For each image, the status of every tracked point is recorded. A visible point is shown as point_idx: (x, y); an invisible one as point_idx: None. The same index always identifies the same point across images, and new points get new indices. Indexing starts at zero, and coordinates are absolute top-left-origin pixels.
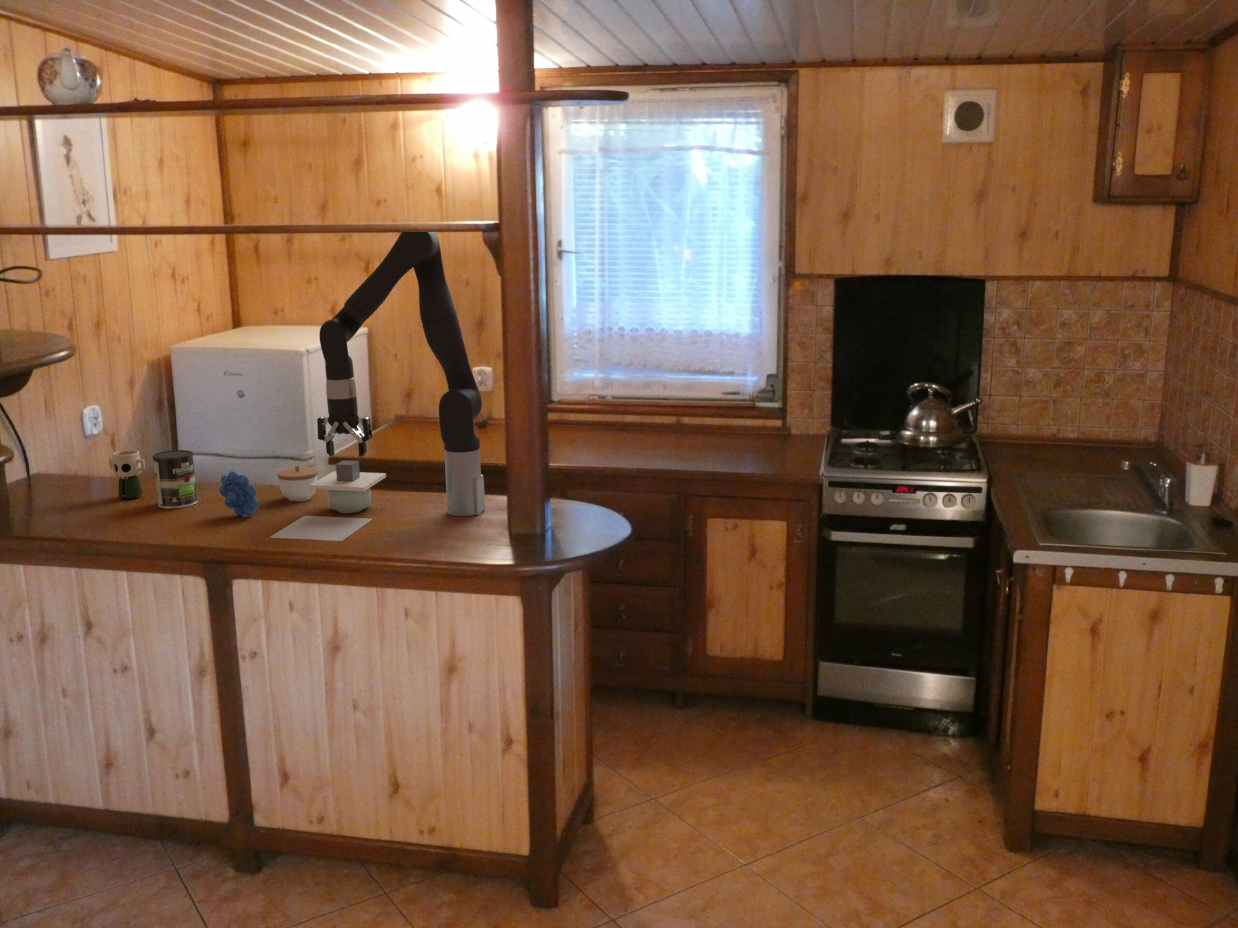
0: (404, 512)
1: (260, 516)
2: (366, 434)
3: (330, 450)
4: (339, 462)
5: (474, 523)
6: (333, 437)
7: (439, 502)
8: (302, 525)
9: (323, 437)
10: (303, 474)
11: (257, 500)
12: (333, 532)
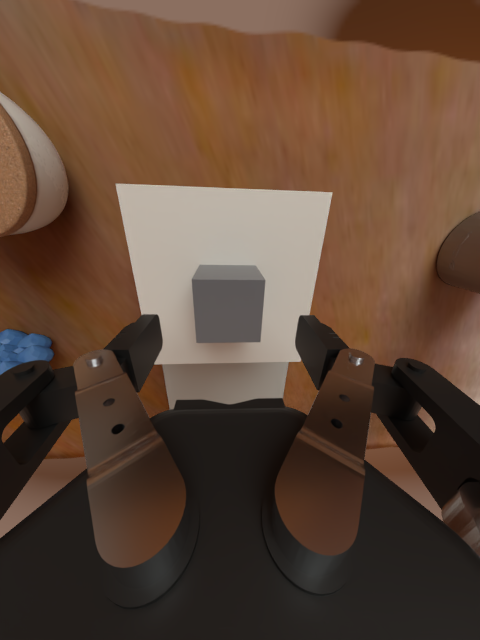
0: (346, 268)
1: (68, 333)
2: (414, 441)
3: (153, 362)
4: (195, 316)
5: (474, 317)
6: (119, 366)
7: (425, 168)
8: (187, 373)
9: (69, 412)
10: (4, 204)
11: (42, 357)
12: (253, 393)
